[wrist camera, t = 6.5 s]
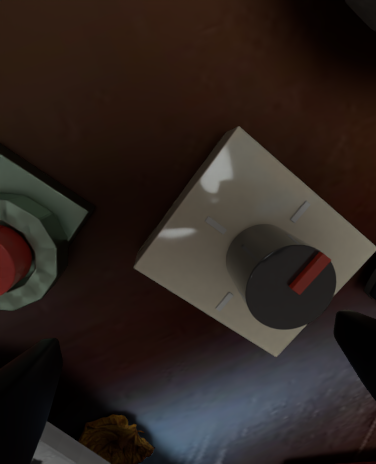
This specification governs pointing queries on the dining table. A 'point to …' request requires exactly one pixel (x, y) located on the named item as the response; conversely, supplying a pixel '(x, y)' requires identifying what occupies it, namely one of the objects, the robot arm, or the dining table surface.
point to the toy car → (371, 285)
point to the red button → (13, 258)
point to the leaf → (115, 440)
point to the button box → (38, 224)
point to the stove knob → (280, 276)
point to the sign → (63, 449)
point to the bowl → (364, 11)
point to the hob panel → (234, 222)
